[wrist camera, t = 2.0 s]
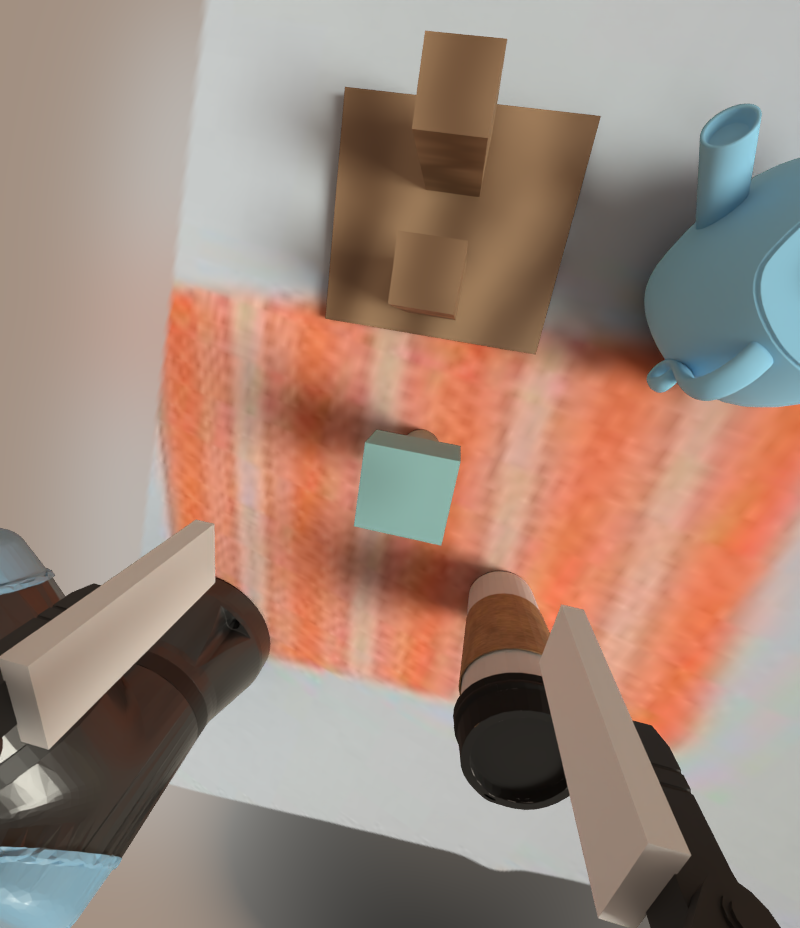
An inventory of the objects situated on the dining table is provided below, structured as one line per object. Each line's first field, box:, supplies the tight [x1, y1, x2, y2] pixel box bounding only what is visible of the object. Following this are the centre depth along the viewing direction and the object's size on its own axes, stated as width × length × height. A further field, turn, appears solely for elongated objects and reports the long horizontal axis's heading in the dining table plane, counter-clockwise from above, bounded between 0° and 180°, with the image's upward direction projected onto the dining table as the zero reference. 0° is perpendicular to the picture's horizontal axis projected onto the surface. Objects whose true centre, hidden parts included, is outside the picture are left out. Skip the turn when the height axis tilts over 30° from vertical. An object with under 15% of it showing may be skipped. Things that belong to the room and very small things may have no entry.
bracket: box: [325, 31, 601, 354], centre depth 23 cm, size 16×14×9 cm
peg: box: [354, 430, 460, 545], centre depth 27 cm, size 6×6×10 cm
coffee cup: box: [453, 571, 570, 810], centre depth 29 cm, size 8×8×15 cm
